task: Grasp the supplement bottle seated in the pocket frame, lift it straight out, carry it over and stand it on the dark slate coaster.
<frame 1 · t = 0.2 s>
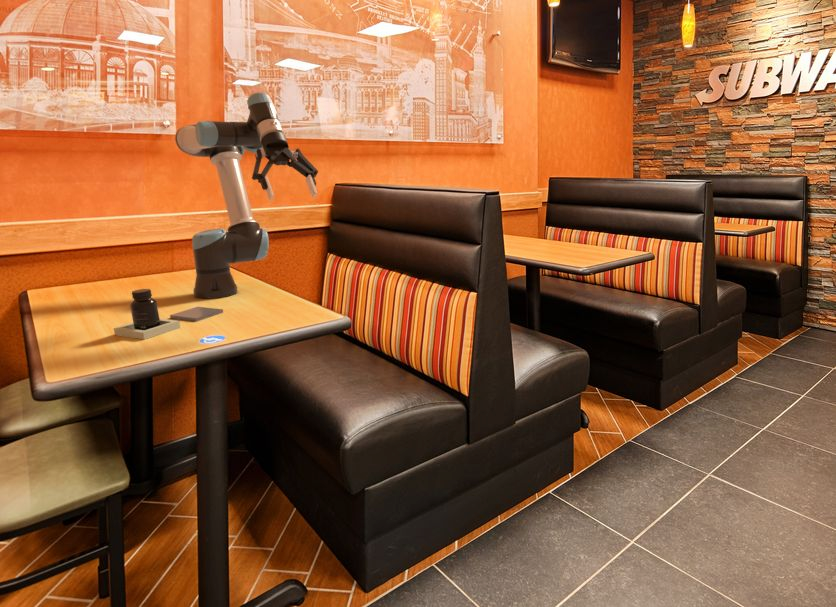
hand: (294, 196, 161), 36 cm above the table, tool tilted 35°, fingers open, 13 cm apart
pocket frame: (148, 331, 155), on the table
supplement bottle: (148, 332, 155), resting in pocket frame
slate coaster: (197, 315, 171), on the table
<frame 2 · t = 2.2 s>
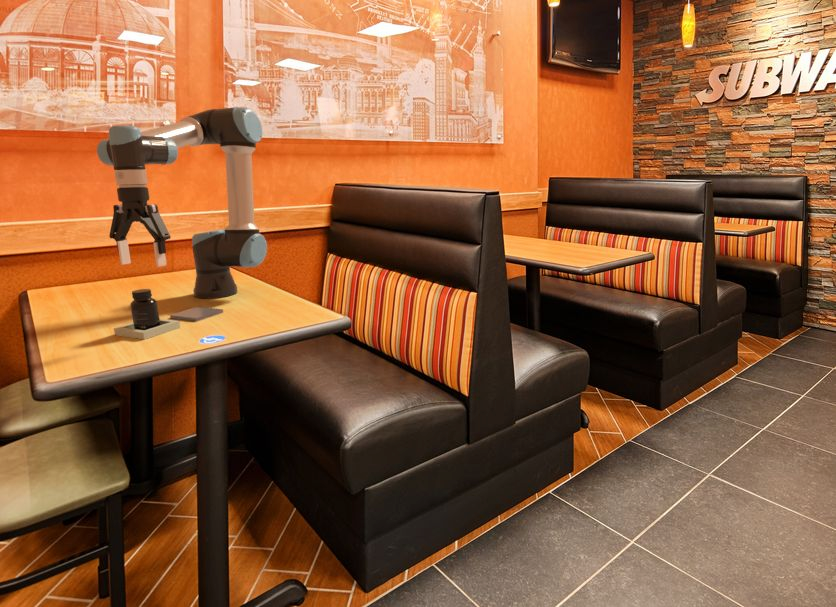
hand: (143, 264, 150), 19 cm above the table, tool pointing down, fingers open, 13 cm apart
nothing on the table moved.
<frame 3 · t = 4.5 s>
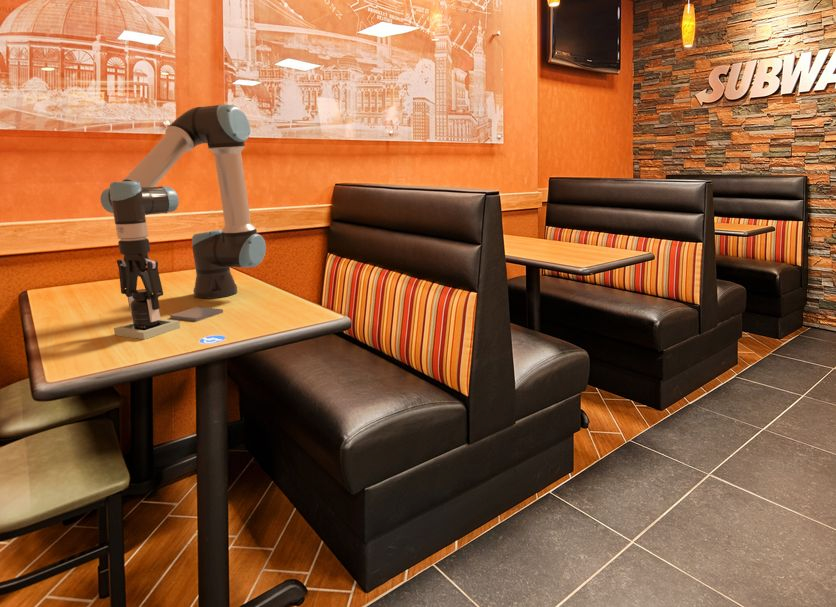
hand: (146, 319, 154), 4 cm above the table, tool pointing down, fingers closed on supplement bottle, 7 cm apart
supplement bottle: (148, 331, 155), resting in pocket frame, touching gripper
when the fingers open (6 cm above the table, at t = 9.7 s): supplement bottle drops 1 cm, resting on slate coaster.
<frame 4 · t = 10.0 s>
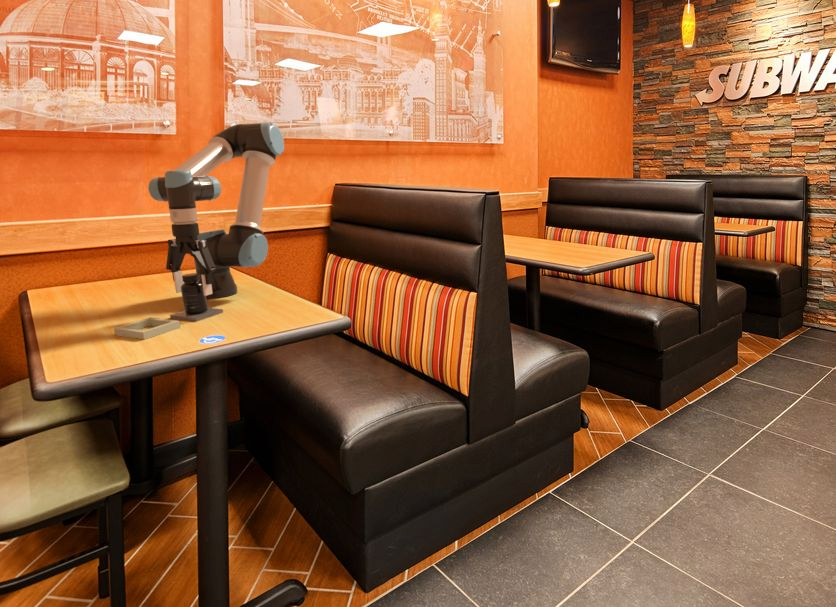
hand: (194, 293, 169), 7 cm above the table, tool pointing down, fingers open, 11 cm apart
supplement bottle: (196, 312, 171), point 1 cm above the table, touching slate coaster
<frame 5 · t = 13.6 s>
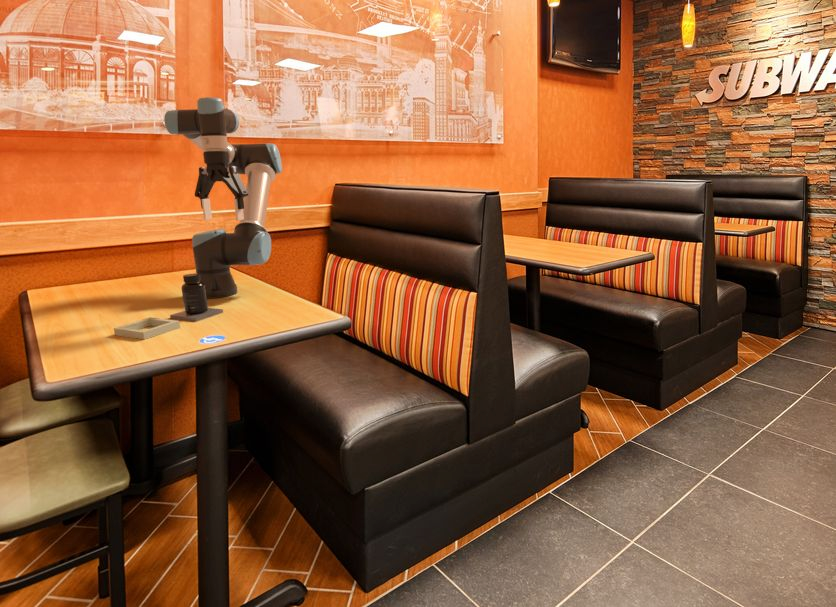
hand: (223, 219, 174), 29 cm above the table, tool pointing down, fingers open, 13 cm apart
nothing on the table moved.
at the end: supplement bottle inside the target area on the slate coaster (0.0 cm from its centre), point 0.8 cm above the slate coaster's base; supplement bottle tilted 0°; the gripper is holding nothing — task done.
